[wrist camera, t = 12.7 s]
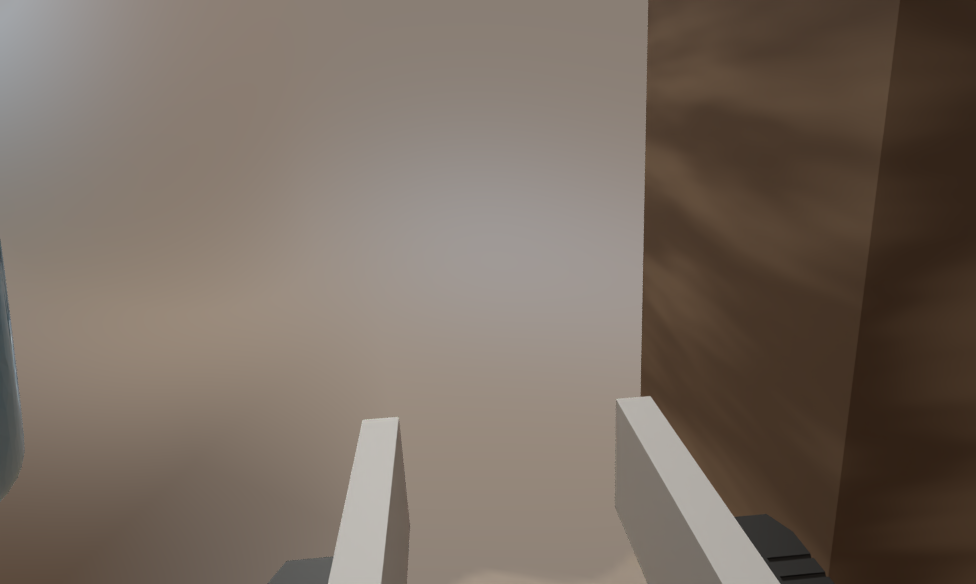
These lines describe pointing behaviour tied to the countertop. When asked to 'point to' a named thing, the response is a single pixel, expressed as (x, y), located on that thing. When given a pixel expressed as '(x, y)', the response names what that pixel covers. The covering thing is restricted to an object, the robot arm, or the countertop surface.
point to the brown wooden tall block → (819, 270)
